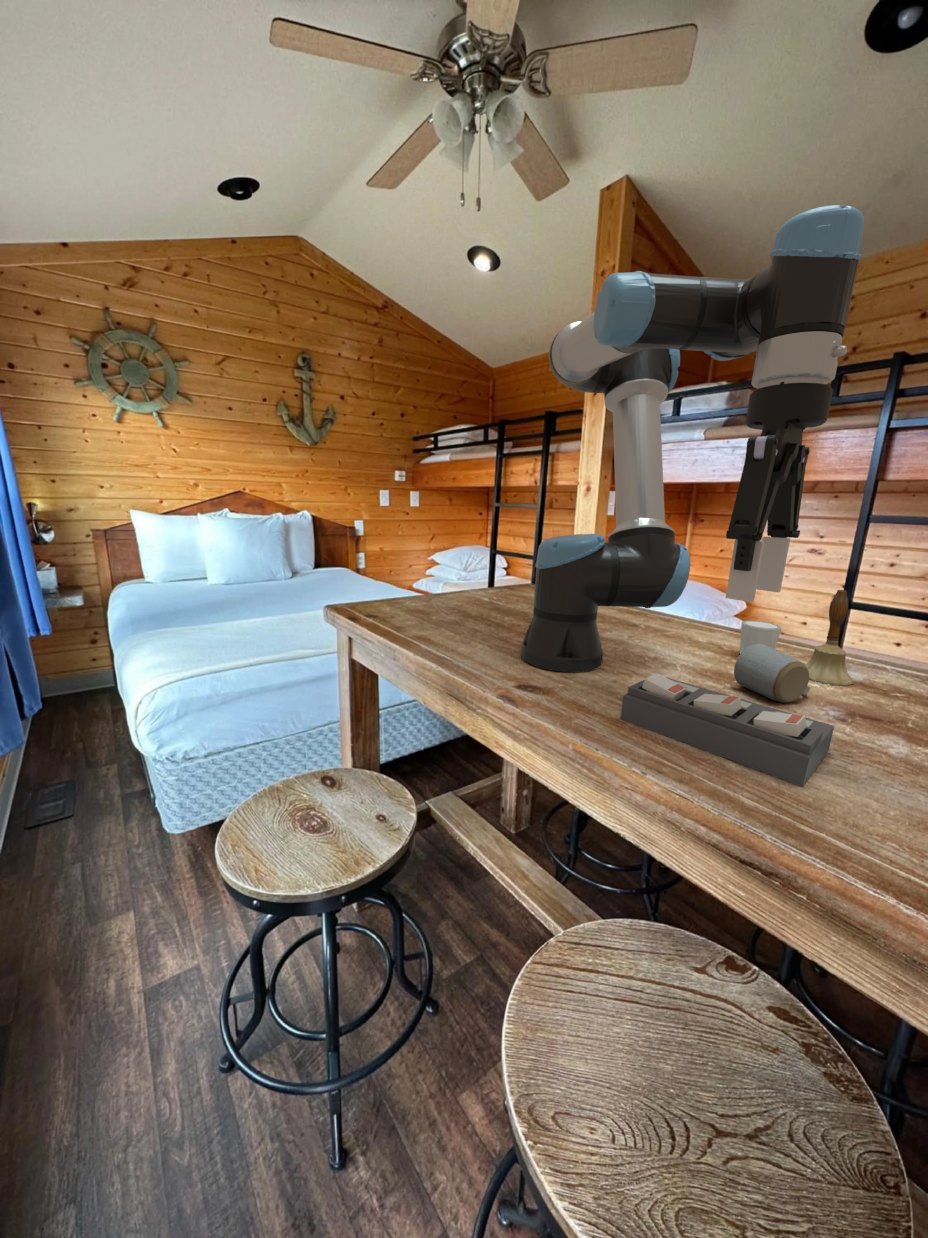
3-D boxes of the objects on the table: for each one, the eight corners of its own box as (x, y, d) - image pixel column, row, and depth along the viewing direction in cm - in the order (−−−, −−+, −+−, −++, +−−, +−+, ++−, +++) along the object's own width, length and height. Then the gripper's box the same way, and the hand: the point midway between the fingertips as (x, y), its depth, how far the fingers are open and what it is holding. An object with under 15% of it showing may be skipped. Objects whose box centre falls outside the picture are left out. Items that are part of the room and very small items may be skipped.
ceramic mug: (772, 707, 75) (783, 659, 74) (729, 688, 83) (737, 643, 81) (822, 702, 79) (833, 655, 77) (776, 683, 86) (785, 640, 84)
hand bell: (834, 688, 84) (855, 596, 80) (786, 672, 92) (803, 587, 88) (863, 682, 88) (885, 593, 84) (815, 667, 95) (833, 585, 91)
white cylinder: (728, 652, 102) (733, 619, 101) (759, 652, 103) (765, 620, 101) (750, 664, 96) (756, 628, 94) (783, 663, 96) (790, 629, 95)
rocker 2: (754, 730, 59) (753, 718, 59) (763, 722, 61) (763, 710, 61) (797, 736, 56) (797, 723, 55) (806, 727, 58) (805, 714, 58)
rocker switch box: (620, 718, 70) (624, 688, 69) (659, 697, 78) (663, 669, 77) (802, 787, 54) (811, 748, 53) (828, 751, 62) (836, 717, 61)
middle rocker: (694, 711, 64) (693, 699, 64) (705, 703, 66) (704, 692, 66) (731, 715, 60) (730, 703, 60) (741, 708, 63) (740, 696, 63)
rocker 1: (641, 687, 69) (645, 678, 68) (654, 681, 71) (657, 672, 70) (671, 703, 66) (675, 694, 65) (683, 696, 68) (686, 687, 68)
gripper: (805, 360, 43) (759, 613, 48) (854, 398, 58) (814, 590, 63) (715, 372, 48) (682, 600, 54) (781, 405, 63) (750, 581, 68)
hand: (754, 594), depth 58 cm, fingers open, 9 cm apart
